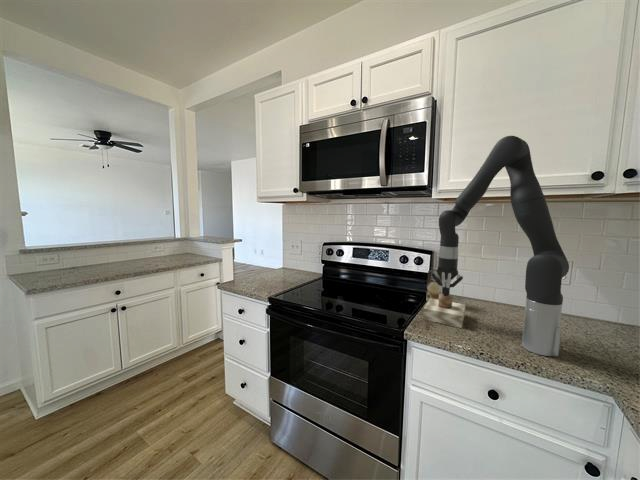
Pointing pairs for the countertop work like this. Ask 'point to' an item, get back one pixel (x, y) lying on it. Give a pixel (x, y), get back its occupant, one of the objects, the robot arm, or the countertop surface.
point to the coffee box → (433, 287)
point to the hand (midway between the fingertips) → (445, 295)
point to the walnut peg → (445, 301)
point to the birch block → (444, 313)
